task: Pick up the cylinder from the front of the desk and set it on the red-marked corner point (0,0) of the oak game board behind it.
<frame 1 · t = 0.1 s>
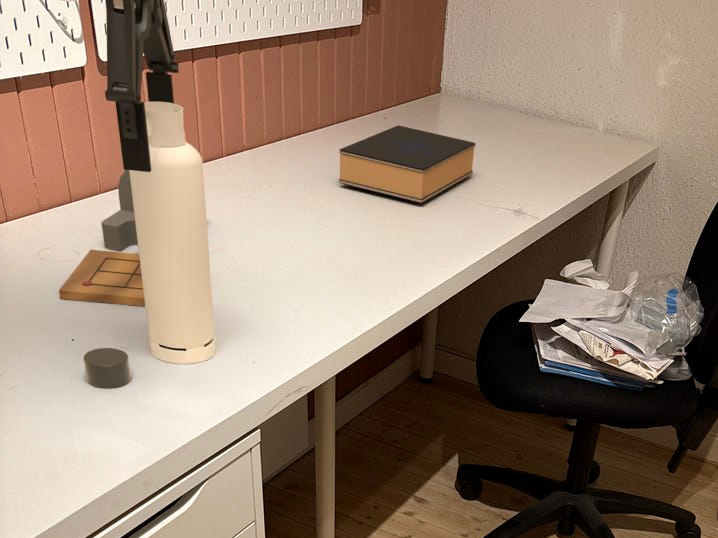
hand: (151, 153, 107), 23 cm above the table, tool pointing down, fingers open, 13 cm apart
board: (134, 282, 137), on the table
cylinder: (109, 378, 115), on the table
bracket: (157, 236, 152), on the table
bottle: (183, 351, 123), on the table
book: (407, 183, 188), on the table
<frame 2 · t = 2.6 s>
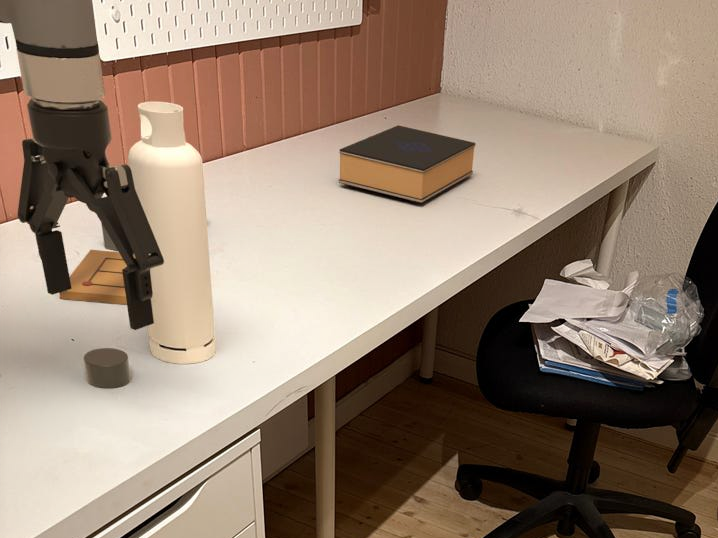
hand: (100, 308, 109), 9 cm above the table, tool pointing down, fingers open, 13 cm apart
nothing on the table moved.
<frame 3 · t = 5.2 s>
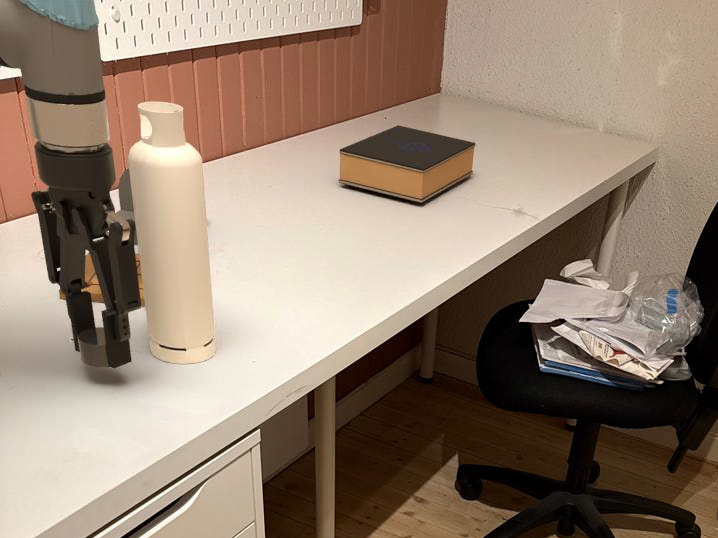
hand: (103, 355, 113), 3 cm above the table, tool pointing down, fingers closed on cylinder, 5 cm apart
cylinder: (103, 358, 113), point 3 cm above the table, touching gripper
everything else where it was.
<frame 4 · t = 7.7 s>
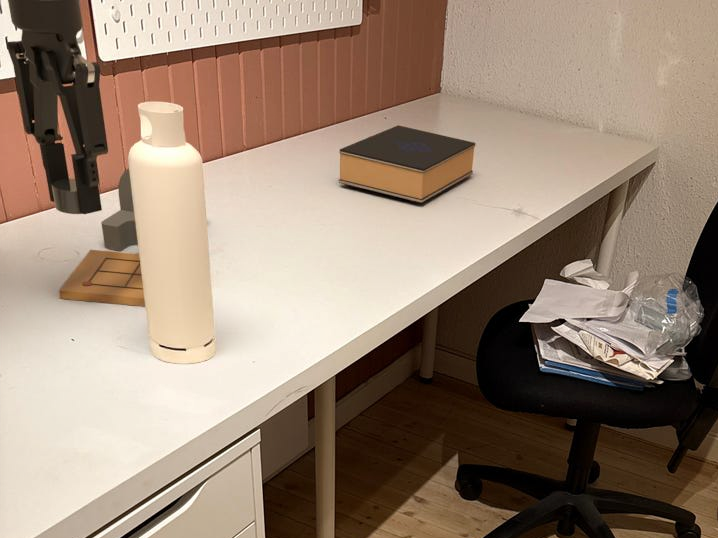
hand: (76, 205, 122), 13 cm above the table, tool pointing down, fingers closed on cylinder, 5 cm apart
cylinder: (76, 207, 122), point 12 cm above the table, touching gripper
everything else where it was.
when the fingers open (2 cm above the table, at t = 10.4 s): cylinder stays where it is, resting on board.
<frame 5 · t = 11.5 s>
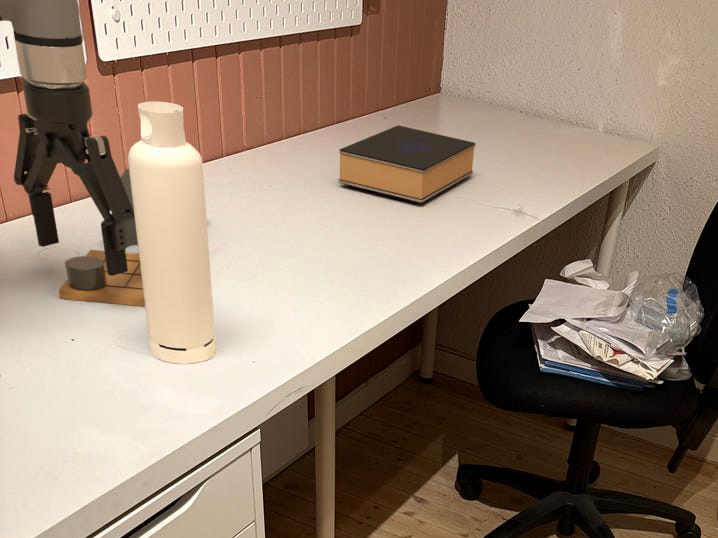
hand: (82, 258, 130), 5 cm above the table, tool pointing down, fingers open, 13 cm apart
cylinder: (87, 283, 132), point 1 cm above the table, touching board
everything else where it was.
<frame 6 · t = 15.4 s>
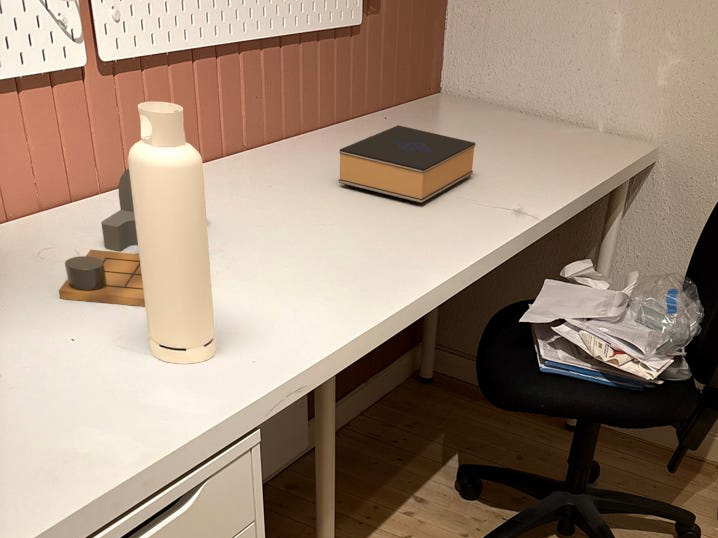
nothing on the table moved.
at the end: cylinder 0.1 cm from the target spot on the board, point 1.3 cm above the board's base; cylinder tilted 0°; the gripper is holding nothing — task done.
